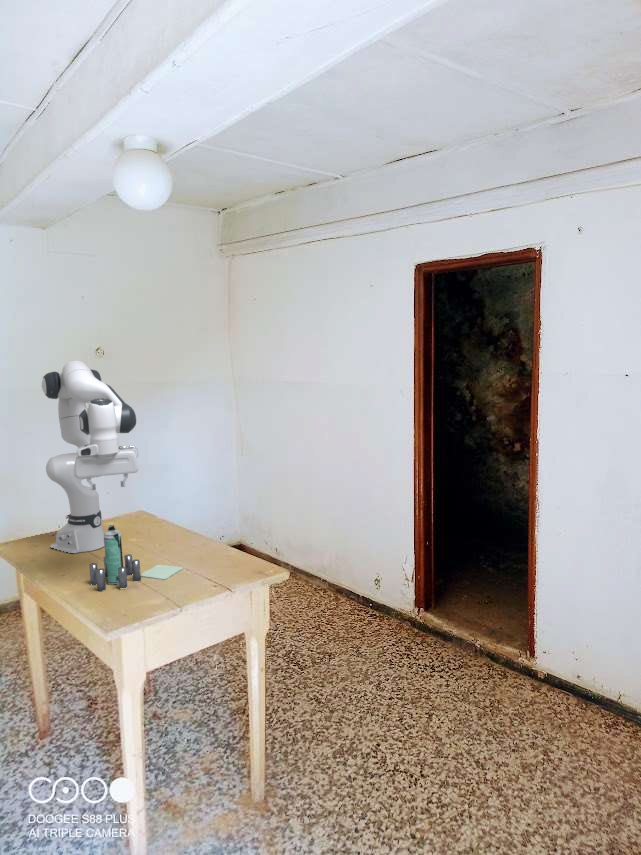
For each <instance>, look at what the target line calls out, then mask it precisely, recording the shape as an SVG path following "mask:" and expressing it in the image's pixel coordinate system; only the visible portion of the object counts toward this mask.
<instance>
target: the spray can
mask: <svg viewBox="0 0 641 855" xmlns="http://www.w3.org/2000/svg"><path fill="white" fill-rule="evenodd" d="M121 535H122V534H121V531H120V530H117V529H116V528H115V525H114V524H113V525H112V524H110V525H109V526H108V529H107V530H106V531H105V532H104V557H106V569H107V578H106V580H107V584H108V585H109V584H111V585H110V586H114V585H113V584H118V585H119V577H118V568H119V567H124V559H123V558H124V556H123V546H122V536H121Z"/></svg>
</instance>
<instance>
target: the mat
mask: <svg viewBox="0 0 641 855" xmlns="http://www.w3.org/2000/svg"><path fill="white" fill-rule="evenodd" d="M182 570H184V567H181V566H175V565H174V566H173V565H166V564H165V565H164V564H157V565H154V566H153V567H151V568H150V569H148V570H145V571H144V572H143V573H141V578H146V579H153V578H154V580H160V579H161V580H162V581H166V580H168V579H169V578H171V577H173V576H174V575H176V574H177V573H179V572H181V571H182ZM172 575H173V576H172ZM167 578H168V579H167ZM161 580H160V581H161Z"/></svg>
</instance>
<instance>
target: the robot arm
mask: <svg viewBox="0 0 641 855" xmlns="http://www.w3.org/2000/svg"><path fill="white" fill-rule="evenodd" d="M41 388H42V391H43V393H44V395H45V396H46V397H47V398H48V399H52V400H58V403H57V404H58V405H57V406H58V407H57V409H58V410H57V411H58V412H57V413H58V419H59V420H58V421H59V427H60V433H61V434H60V435H61V438H62V440H63V441H65V442H66V443H68V444H70V445H73V446H76V447H77V449H76V452H68V453H62V454H58V455H55V456H52V457H50V458H48V461H47V462H46V465H45V472H46V476H47V477H48V479H50V480H51V481H52V482H54V483H55V484H57V485H58V486H60V487H61V488H62V489H63V490H64V492H65V493H66V495H67V498H68V499H67V500H68V504H69V505H68V506H69V511H70V513H69V514H68V515H65V519H68V520H67V522H66V523H65V525H63V527H61V528H60V529H59V530H58V531H57V532H56V535H55V542H53V543H52V544H50V546H49V548H50V547H51V548H54V549H53V550H55V549H57V550H56V551H59V550H61V551H60V552H63V551H64V552H63V553H66V552H68V553H67V554H70V553H74V554H79V553H84V552H91V551H96V550H99V549H102V548H105V546H104V533H105V532H104V529H103V528H104V527H103V524H102V512H101V510H100V500H99V493H98V491H97V490H96V489H97V487H96V483H93V482H92V479H93V478H94V479H95V478H100V477H103V476H104V477H105V476H114V475H115V476H117V475H123V480H120V481H119V482H120V487H121V488H125V487H126V482H127V479H128V477H129V474H137V472H138V471H139V465H138V459H137V458H138V457H139V450H138V447H136V446H134V445H128V446H127V445H119V435H118V434H129V433H130V432H132V431H133V430H134V428H136V425H137V416H136V412H135V410H134V408H132V406H130V405H129V404H128V403H126V402H125V400H124V399H122V397H120V396H121V395H118V393H117V391H115V389H114V388H113V387H112V386H111V385H109V384H107V383H106V382H105V383H104V382H103V379H102V377H101V375H100V372H99V371H97V369H96V370H95V369H91V368H89V367H88V365H87V364H86V363H84V362H83V361H81V360H76V359H75V360H70V361H68V362H66V363H65V364H64V365H63V367H62V370H58V371H51V372H48V373H46V374H44V376H43V377H42V382H41ZM87 404H88V406H87ZM82 480H86V482H87V484H89V485H90V486H86V485H83V484H82ZM51 548H50V549H51Z"/></svg>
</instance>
